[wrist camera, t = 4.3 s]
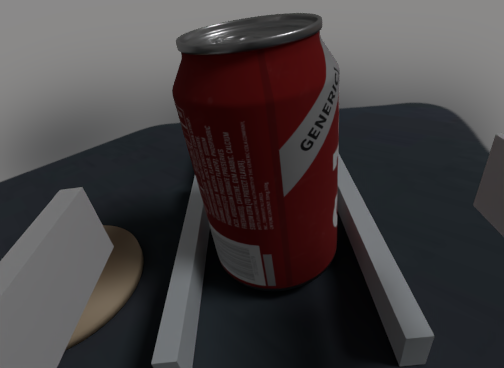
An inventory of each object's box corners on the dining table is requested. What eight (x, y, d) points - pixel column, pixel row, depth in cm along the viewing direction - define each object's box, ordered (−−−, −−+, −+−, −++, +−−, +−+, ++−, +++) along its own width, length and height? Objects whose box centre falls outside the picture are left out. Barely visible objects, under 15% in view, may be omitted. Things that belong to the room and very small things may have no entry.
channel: (425, 364, 13) (434, 335, 11) (166, 388, 13) (150, 364, 12) (337, 175, 24) (337, 151, 23) (201, 192, 25) (195, 170, 24)
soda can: (263, 325, 15) (208, 60, 8) (201, 246, 20) (136, 40, 13) (362, 255, 18) (382, 10, 11) (286, 200, 22) (267, 9, 16)
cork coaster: (-57, 329, 17) (-65, 323, 17) (75, 222, 24) (72, 216, 23) (51, 393, 14) (44, 386, 13) (172, 246, 20) (170, 239, 20)
